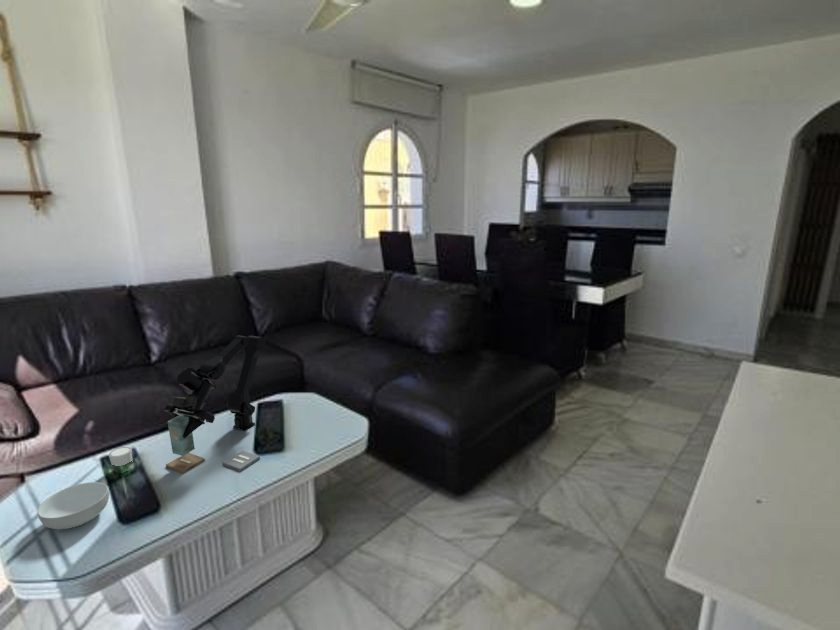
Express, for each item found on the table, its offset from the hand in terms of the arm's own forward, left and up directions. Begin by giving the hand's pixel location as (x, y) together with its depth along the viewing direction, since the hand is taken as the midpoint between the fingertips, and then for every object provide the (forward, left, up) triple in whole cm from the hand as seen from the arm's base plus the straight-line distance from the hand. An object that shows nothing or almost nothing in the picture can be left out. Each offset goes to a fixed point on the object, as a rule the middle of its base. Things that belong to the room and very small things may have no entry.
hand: (178, 436), depth 161 cm
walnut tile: (-2, 0, -12) cm, 12 cm away
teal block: (-1, 0, -7) cm, 7 cm away
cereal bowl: (+33, -3, -12) cm, 35 cm away
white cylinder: (+10, -17, -12) cm, 23 cm away
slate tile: (-11, +17, -12) cm, 24 cm away
